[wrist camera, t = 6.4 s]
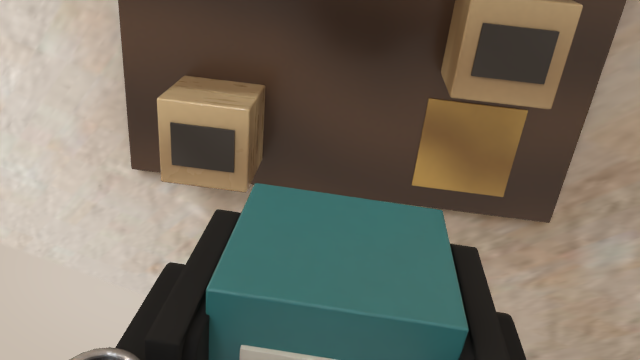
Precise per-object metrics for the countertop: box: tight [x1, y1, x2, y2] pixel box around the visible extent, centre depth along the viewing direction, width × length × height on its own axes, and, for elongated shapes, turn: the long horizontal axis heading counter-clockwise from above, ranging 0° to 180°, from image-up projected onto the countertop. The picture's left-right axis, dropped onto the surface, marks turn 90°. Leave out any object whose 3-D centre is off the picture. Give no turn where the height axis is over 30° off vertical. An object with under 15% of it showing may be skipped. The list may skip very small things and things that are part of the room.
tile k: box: [157, 76, 266, 192], centre depth 24 cm, size 4×4×4 cm
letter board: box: [118, 0, 626, 223], centre depth 23 cm, size 18×22×1 cm
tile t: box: [441, 0, 583, 109], centre depth 21 cm, size 4×4×4 cm
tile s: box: [206, 183, 469, 360], centre depth 10 cm, size 4×4×4 cm
